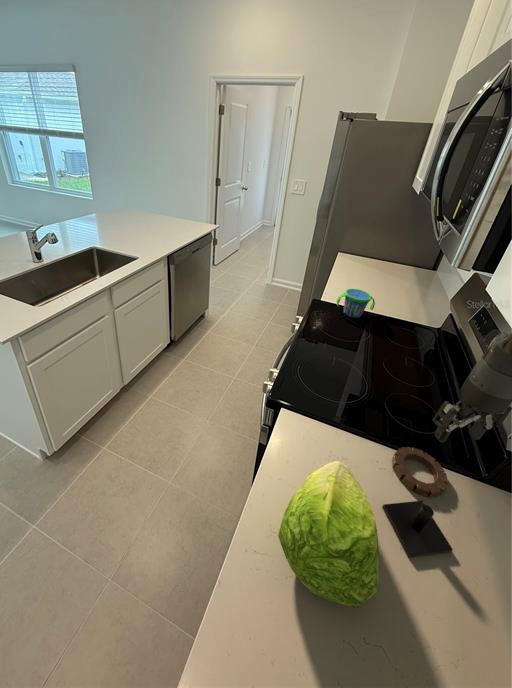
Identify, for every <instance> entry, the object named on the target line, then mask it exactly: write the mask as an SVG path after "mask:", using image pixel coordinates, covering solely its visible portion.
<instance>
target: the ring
mask: <svg viewBox="0 0 512 688" xmlns="http://www.w3.org/2000/svg"><path fill="white" fill-rule="evenodd" d="M405 460H413V461H416V462H418V463H420V464H422V465H423V466H424V467H426V468H427V469H428V470H429V471H430V473H431V475H432V476H433V481H434V482H428V483H427V482H424V481H421V480H419V479H417V478H415V476H414V475H412V474H411V473H410V472H409V471H408V469H407V468H406V466H405ZM391 467H392V469H393V472H394V474H395V475H396V477H397V479H398V480H400V481H401V483H402V485H404V486H405V487H406V488H408V489H409V490H410V491H413V493H415V494H417V495H420V496H421V497H425V498H426V497H427V498H438V497H439V496H441V495H442V494H443V492H444V491H445V490H446V488H447V487H448V483H449V481H448V476H447V473H446V471H445V469H444V468H443V467H442V465H441V464H440V463H439V461H436V458H434V457H433V456H432V455H430V454H428V452H424V451H423V450H421V449H419V448H416V447H413V446H412V447H411V446H403V447H400V448H398V449H397V450H396V451H395V452H394V454H393V456H392V459H391Z"/></svg>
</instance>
